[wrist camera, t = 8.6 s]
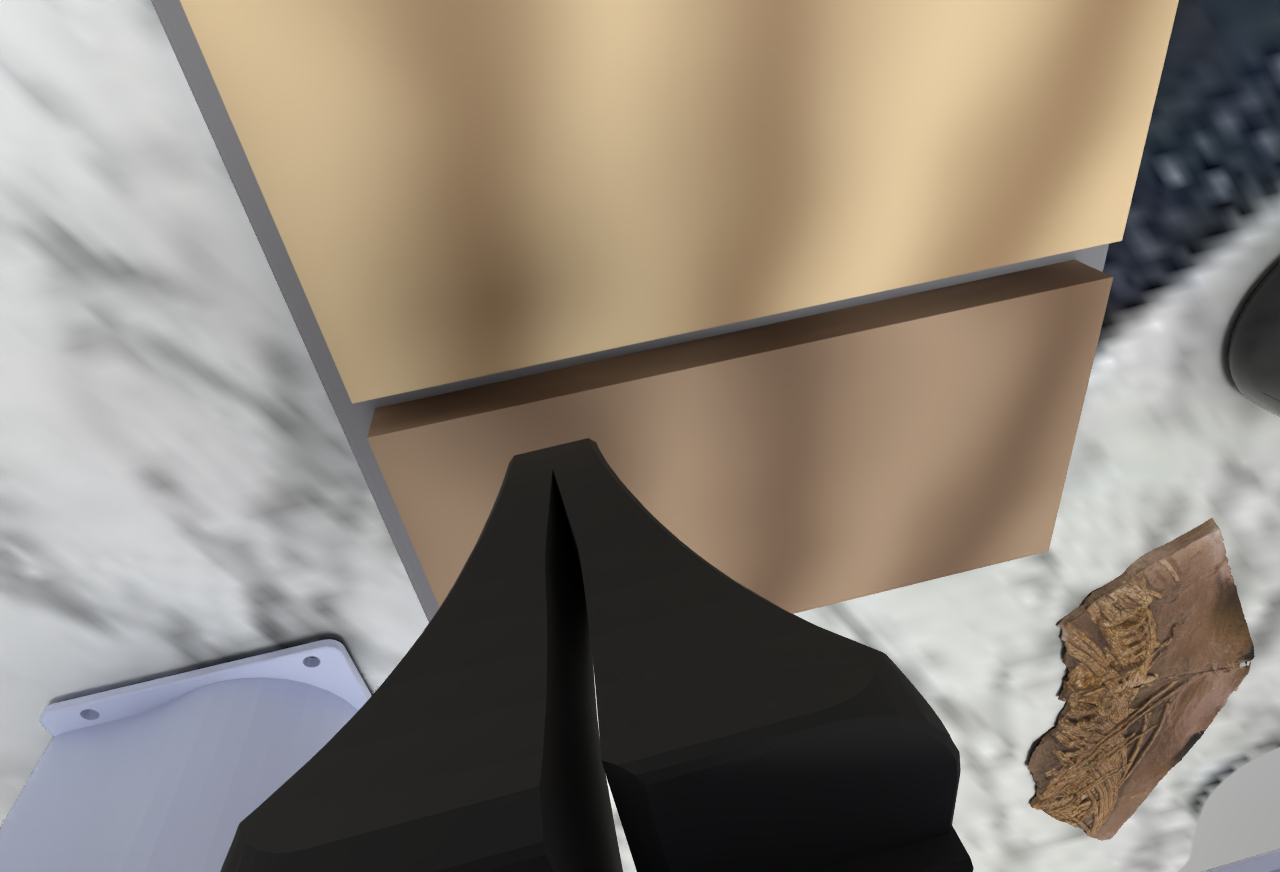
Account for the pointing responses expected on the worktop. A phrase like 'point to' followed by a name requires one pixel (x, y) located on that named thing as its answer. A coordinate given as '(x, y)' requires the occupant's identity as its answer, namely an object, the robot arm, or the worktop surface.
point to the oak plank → (665, 158)
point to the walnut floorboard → (795, 438)
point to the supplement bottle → (1259, 345)
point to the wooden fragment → (1141, 681)
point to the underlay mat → (360, 414)
